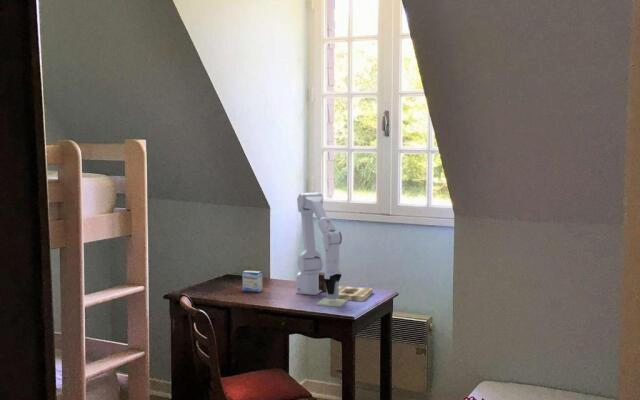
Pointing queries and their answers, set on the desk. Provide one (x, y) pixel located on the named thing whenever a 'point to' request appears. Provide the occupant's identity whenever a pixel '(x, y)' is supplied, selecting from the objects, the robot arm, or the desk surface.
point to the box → (322, 282)
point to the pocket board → (354, 293)
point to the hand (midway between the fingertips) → (332, 292)
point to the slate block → (336, 292)
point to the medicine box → (252, 281)
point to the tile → (332, 302)
